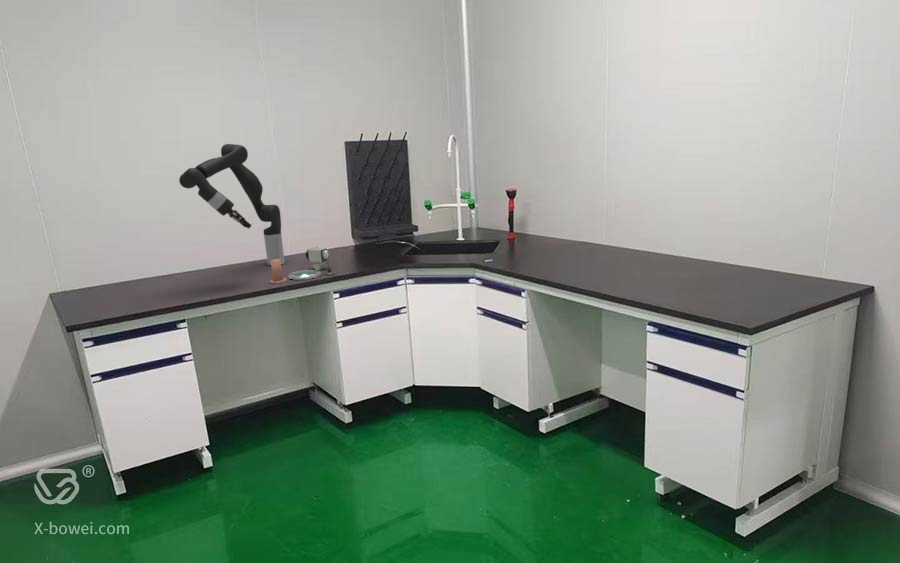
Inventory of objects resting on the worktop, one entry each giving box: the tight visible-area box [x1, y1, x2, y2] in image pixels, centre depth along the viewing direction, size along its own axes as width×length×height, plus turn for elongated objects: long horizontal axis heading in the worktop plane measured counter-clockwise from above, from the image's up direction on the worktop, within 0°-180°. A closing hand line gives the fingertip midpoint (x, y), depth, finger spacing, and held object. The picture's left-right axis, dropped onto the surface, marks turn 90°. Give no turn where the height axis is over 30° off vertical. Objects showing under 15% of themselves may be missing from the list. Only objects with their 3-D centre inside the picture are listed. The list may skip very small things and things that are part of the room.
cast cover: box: [269, 259, 288, 284], centre depth 280 cm, size 8×8×11 cm
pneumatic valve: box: [305, 246, 328, 271], centre depth 303 cm, size 6×12×12 cm, turn 69°
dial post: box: [322, 249, 335, 276], centre depth 291 cm, size 4×4×13 cm
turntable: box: [287, 269, 322, 281], centre depth 290 cm, size 16×16×2 cm
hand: (248, 226), depth 273 cm, fingers open, 8 cm apart
